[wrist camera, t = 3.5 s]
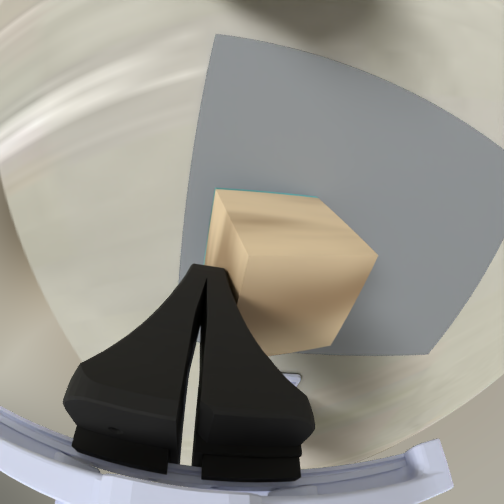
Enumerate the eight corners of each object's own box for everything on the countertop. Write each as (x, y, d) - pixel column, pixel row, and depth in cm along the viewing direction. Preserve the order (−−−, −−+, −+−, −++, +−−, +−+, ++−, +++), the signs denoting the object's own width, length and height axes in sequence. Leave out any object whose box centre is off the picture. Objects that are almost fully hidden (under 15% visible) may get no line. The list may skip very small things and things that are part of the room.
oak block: (289, 277, 18) (330, 345, 14) (201, 280, 16) (223, 361, 12) (316, 196, 15) (378, 255, 11) (215, 187, 13) (248, 255, 9)
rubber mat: (427, 352, 24) (427, 354, 24) (176, 336, 21) (175, 338, 21) (529, 171, 14) (530, 172, 14) (216, 34, 11) (215, 33, 11)
